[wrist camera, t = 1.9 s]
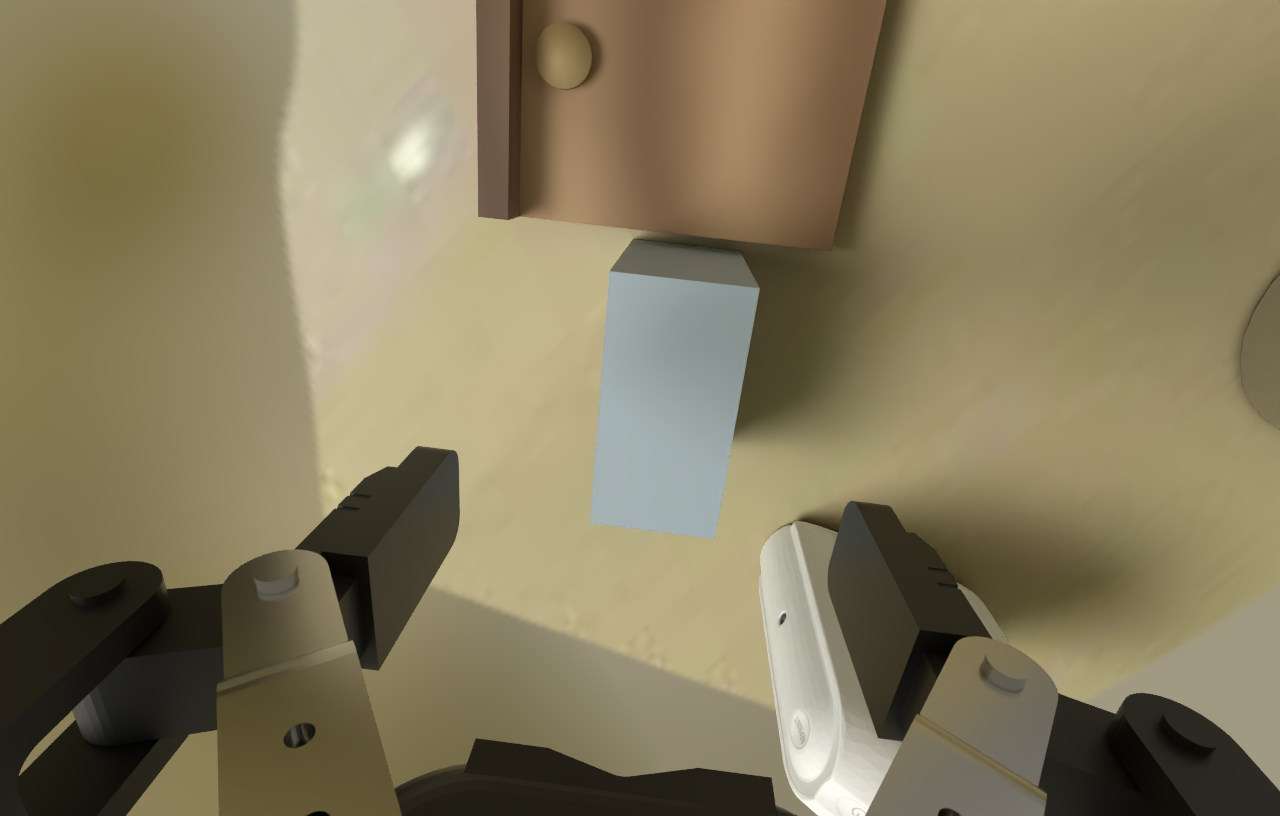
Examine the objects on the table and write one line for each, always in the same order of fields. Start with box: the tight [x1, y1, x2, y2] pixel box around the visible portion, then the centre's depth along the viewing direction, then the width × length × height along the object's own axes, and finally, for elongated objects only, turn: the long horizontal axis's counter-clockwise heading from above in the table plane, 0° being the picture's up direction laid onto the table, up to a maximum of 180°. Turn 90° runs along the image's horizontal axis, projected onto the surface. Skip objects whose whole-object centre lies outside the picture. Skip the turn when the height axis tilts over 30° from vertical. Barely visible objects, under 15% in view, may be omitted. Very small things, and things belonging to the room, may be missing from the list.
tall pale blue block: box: [590, 239, 760, 539], centre depth 20 cm, size 4×8×7 cm, turn 174°
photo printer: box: [759, 521, 1011, 816], centre depth 21 cm, size 10×4×12 cm, turn 68°
